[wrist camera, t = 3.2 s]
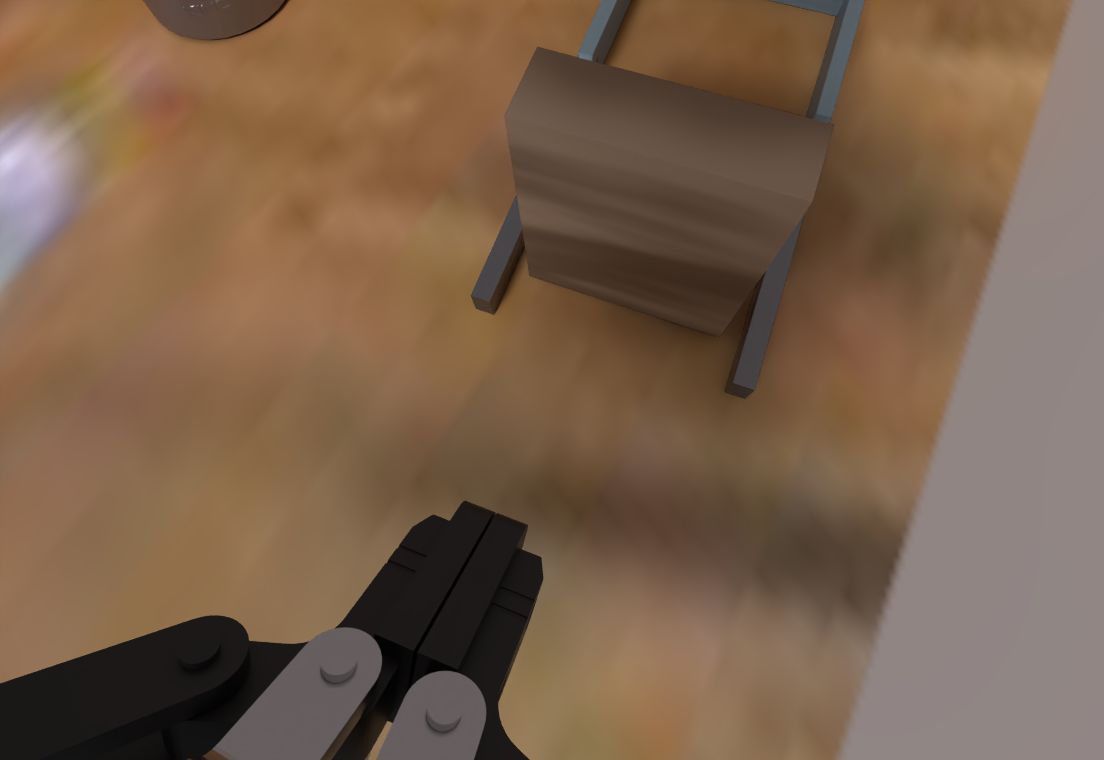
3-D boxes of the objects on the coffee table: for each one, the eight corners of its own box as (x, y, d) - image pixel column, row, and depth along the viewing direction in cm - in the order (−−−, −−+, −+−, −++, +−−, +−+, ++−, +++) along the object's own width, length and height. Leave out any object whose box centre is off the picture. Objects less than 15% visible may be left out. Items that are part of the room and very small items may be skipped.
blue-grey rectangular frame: (811, 151, 30) (831, 117, 28) (577, 88, 32) (578, 51, 30) (852, 9, 33) (874, -33, 31) (635, -42, 35) (640, -85, 33)
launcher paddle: (719, 337, 27) (812, 202, 17) (529, 275, 29) (504, 115, 18) (736, 285, 28) (834, 124, 17) (550, 227, 29) (537, 46, 19)
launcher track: (744, 398, 27) (754, 390, 25) (475, 308, 28) (470, 295, 27) (819, 136, 31) (831, 116, 29) (581, 73, 33) (581, 50, 31)
